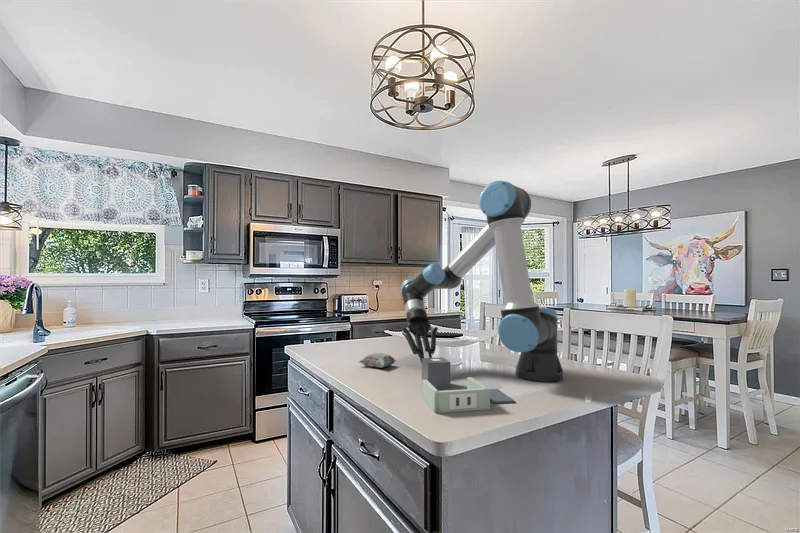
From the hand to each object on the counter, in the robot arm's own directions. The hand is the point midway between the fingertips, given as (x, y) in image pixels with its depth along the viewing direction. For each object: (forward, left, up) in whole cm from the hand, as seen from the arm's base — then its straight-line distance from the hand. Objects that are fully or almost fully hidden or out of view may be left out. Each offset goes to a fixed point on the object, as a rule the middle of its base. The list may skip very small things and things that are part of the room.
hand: (428, 370), depth 126 cm
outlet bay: (-4, +23, -3) cm, 23 cm away
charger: (-1, +7, -3) cm, 8 cm away
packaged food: (+17, -19, -3) cm, 26 cm away
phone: (-17, +18, -4) cm, 25 cm away
